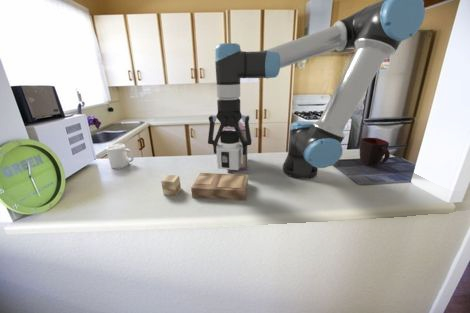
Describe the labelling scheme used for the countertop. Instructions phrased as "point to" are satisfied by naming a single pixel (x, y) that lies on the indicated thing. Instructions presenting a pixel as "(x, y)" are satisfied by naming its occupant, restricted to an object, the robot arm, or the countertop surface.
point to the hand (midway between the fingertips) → (230, 162)
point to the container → (229, 151)
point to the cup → (118, 155)
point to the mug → (373, 151)
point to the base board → (220, 186)
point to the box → (243, 166)
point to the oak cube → (171, 185)
